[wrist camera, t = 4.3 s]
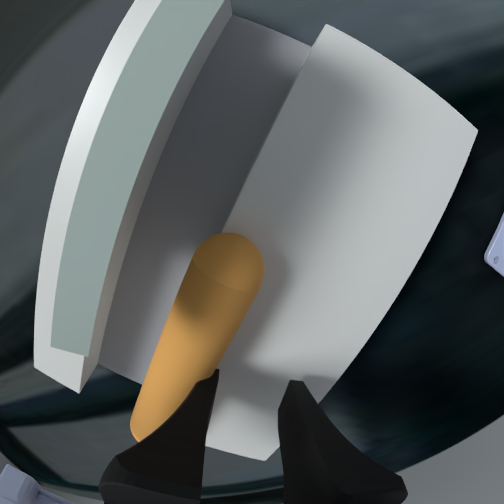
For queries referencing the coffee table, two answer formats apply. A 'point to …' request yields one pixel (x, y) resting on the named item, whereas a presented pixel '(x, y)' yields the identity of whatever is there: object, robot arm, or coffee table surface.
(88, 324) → the cover
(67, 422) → the coffee table surface
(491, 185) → the coffee table surface
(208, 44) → the board
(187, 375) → the orange rounded rod
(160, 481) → the robot arm
